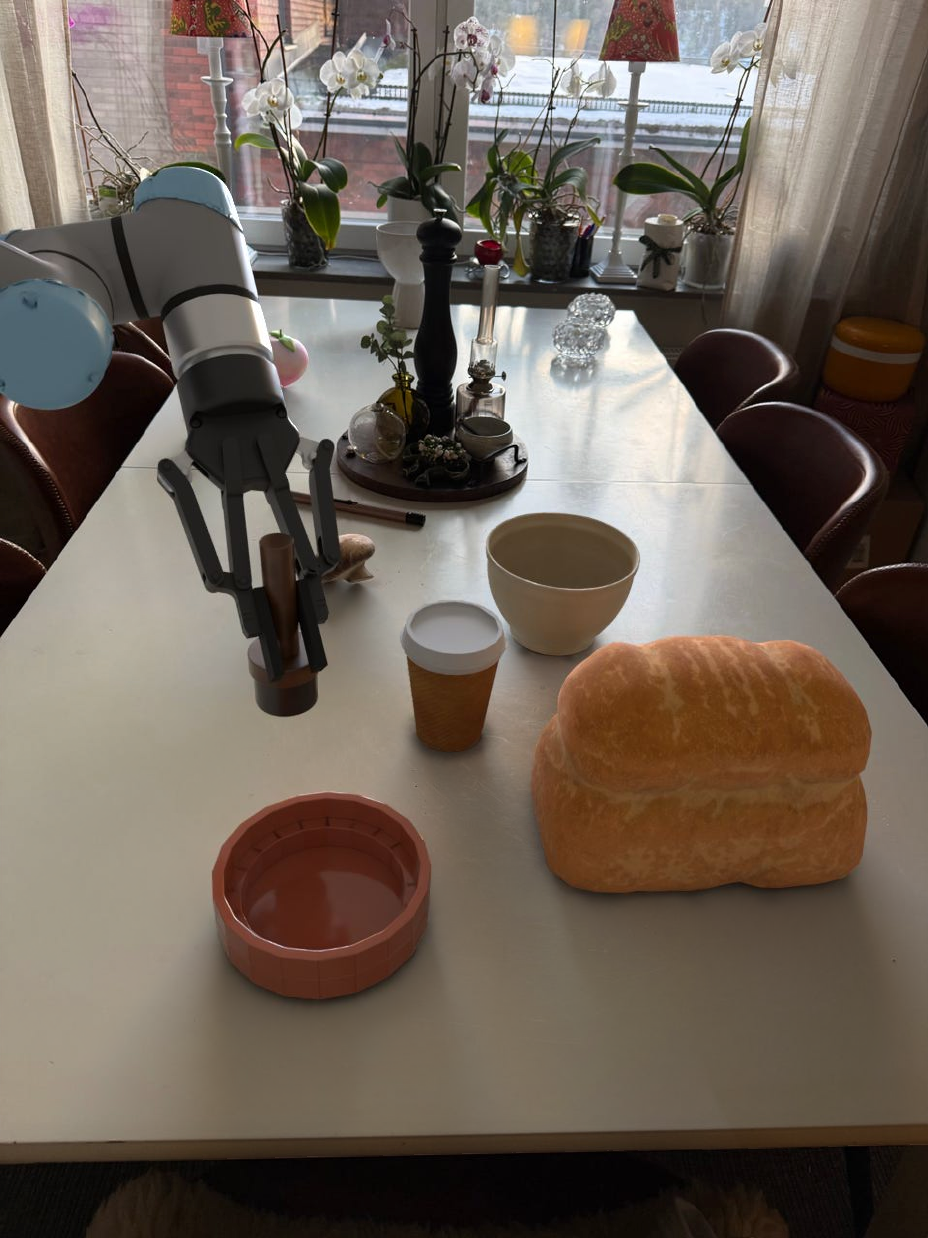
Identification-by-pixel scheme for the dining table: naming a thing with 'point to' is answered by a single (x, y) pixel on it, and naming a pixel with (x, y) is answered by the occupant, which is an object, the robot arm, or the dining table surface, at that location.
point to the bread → (702, 768)
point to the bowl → (321, 894)
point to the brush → (282, 635)
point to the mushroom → (352, 559)
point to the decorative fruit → (288, 357)
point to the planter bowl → (559, 578)
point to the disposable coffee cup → (452, 670)
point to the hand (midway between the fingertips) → (298, 673)
